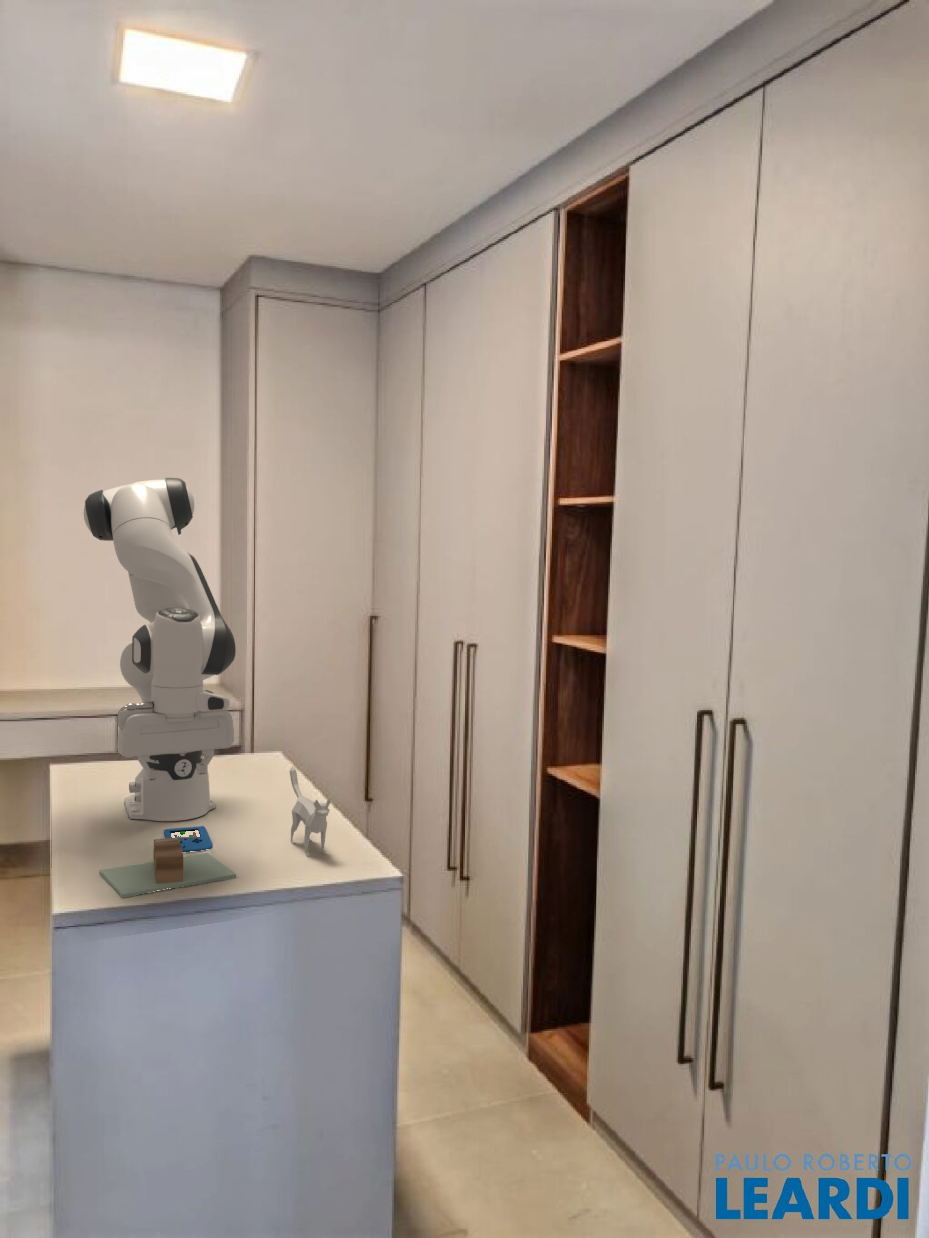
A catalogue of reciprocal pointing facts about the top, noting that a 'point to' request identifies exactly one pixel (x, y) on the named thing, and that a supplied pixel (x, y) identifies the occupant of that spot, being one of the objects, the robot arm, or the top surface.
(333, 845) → the top surface
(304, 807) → the cat figurine
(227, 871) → the rubber mat
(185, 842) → the handheld gaming device
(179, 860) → the walnut block
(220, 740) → the robot arm
